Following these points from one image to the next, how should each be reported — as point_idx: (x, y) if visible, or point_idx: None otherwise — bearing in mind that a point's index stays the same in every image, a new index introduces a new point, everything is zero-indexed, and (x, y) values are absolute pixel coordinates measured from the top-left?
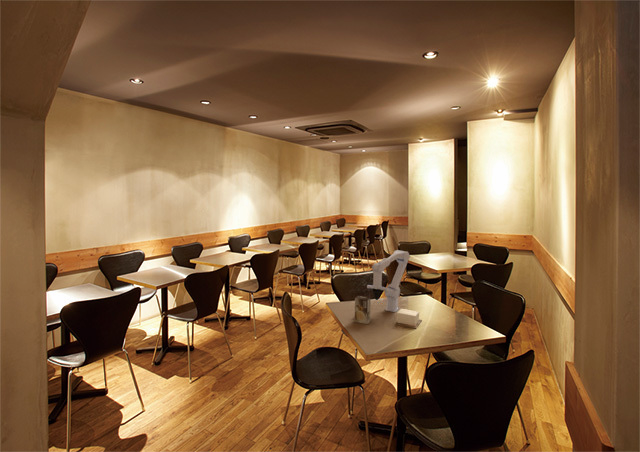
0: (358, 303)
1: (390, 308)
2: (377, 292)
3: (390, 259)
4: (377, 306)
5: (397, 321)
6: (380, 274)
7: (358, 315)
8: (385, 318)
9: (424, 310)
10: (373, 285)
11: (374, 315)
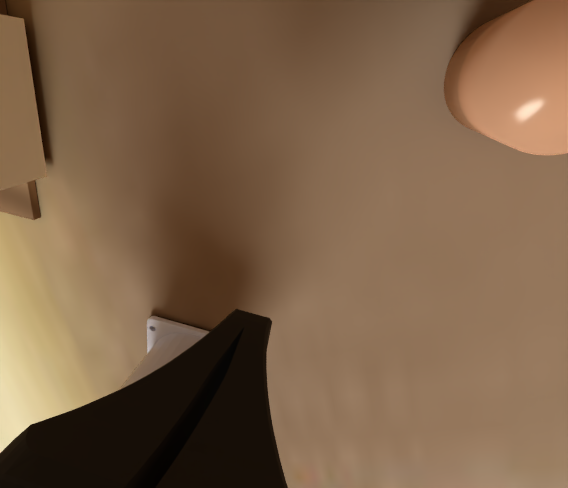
0: None
1: (180, 347)
2: (107, 431)
3: None
4: (325, 416)
5: (6, 16)
6: None
7: None
8: (179, 124)
9: (3, 388)
10: None
11: (313, 178)
